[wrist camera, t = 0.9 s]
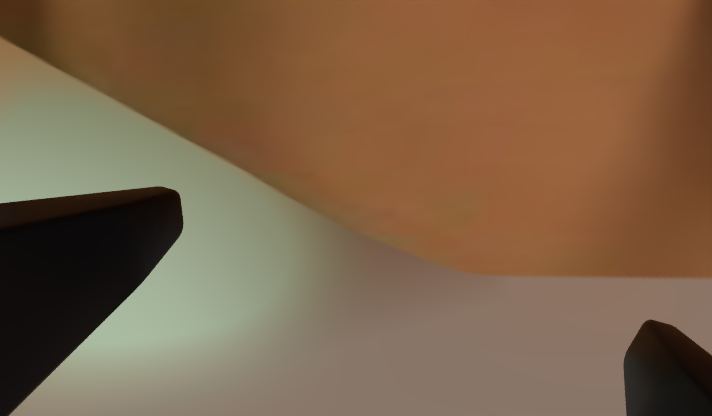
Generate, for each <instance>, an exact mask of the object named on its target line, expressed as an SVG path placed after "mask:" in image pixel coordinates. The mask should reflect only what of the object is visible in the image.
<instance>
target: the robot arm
mask: <svg viewBox="0 0 712 416" xmlns="http://www.w3.org/2000/svg"><path fill="white" fill-rule="evenodd" d="M182 229H183V216H182V207H181V199H180V195H179V193H178V192H177V191H175V190H172V189H168V188H165V187H148V188H139V189H130V190H121V191H111V192H102V193H93V194H84V195H75V196H65V197H57V198H46V199H37V200H28V201H19V202H9V203H1V204H0V416H9V415H10V414H11V413H12V412H13V411H14V410H15V409H16V408H17V407H18V406H19V405H20V404H21V403H22V402H23V401H24V400H25V399H26V398H27V397H28V396H29V395H30V394H31V393H32V392H33V391H34V390H35V389H36V388H37V387H38V386H39V385H40V384H41V383H42V382H43V381H44V380H45V379H46V378H47V377H48V376H49V375H50V374H51V373H52V372H53V371H54V370H55V369H56V368H57V367H58V366H59V365H60V364H61V363H62V362H63V361H64V360H65V359H66V358H67V357H68V356H69V355H70V354H71V353H72V352H73V351H74V350H75V349H76V348H77V347H78V346H79V345H80V344H81V343H82V342H83V341H84V340H85V339H86V338H87V337H88V336H89V335H90V334H91V333H92V332H93V331H94V330H95V329H96V328H97V327H98V326H99V325H100V324H101V323H102V322H103V321H104V320H105V319H106V318H107V317H108V316H109V315H110V314H111V313H112V312H113V311H114V310H115V309H116V308H117V307H118V306H119V305H120V304H121V303H122V302H123V301H124V300H126V299H127V297H129V296H130V295H131V293H133V292H134V290H135V289H136V288H137V287H138V286H139V285H140V284H141V283H142V282H143V281H144V280H145V278H146V277H147V276H148V275H149V274H150V273H151V271H152V270H153V269H154V268H155V266H156V265H157V264H158V263H159V261H160V260H161V259H162V258H163V256H164V255H165V254H166V253H167V251H168V250H169V249H170V248H171V246H172V245H173V244H174V243H175V241H176V240H177V239H178V238H179V236H180V234H181V232H182ZM624 380H625V397H626V411H627V416H712V356H711V355H710V354H709V353H708V352H706V351H705V350H704V349H703V348H701V347H700V346H699V345H698V344H696V343H695V342H694V341H692V340H691V339H690V338H689V337H687V336H686V335H685V334H683V333H682V332H681V331H679V330H678V329H677V328H676V327H674V326H672V325H669V324H665V323H662V322H658V321H654V320H648V321H646V322H645V323H644V324H643V325H642V326H641V328H640V330H639V331H638V333H637V335H636V337H635V338H634V340H633V341H632V343H631V345H630V346H629V348H628V350H627V352H626V355H625V358H624Z"/></svg>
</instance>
